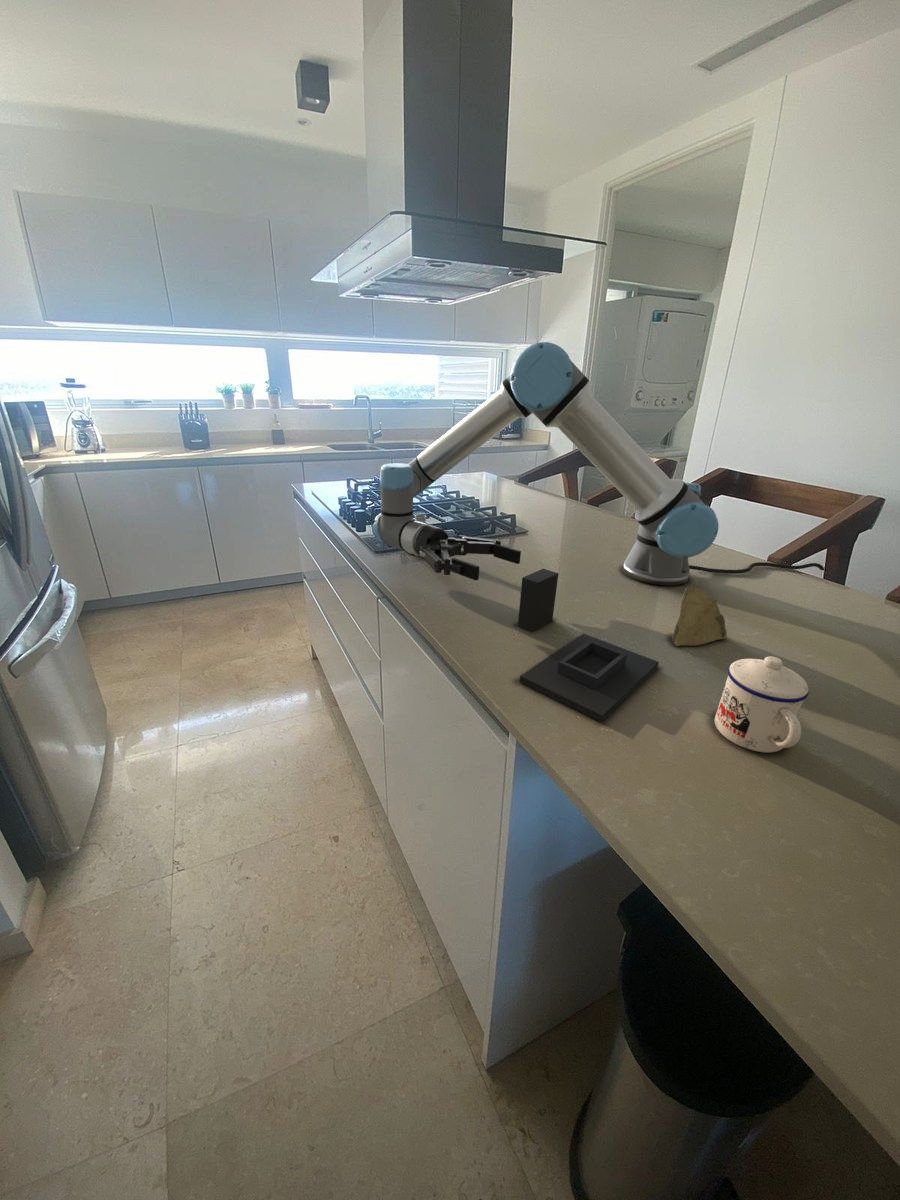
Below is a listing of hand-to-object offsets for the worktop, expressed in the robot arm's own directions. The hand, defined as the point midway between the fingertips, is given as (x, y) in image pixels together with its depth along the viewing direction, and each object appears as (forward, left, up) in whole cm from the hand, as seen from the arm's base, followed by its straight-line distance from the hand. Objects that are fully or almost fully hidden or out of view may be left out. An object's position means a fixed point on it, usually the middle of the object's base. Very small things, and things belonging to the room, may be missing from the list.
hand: (499, 565), depth 98 cm
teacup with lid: (-33, +38, -10) cm, 52 cm away
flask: (+20, -34, -10) cm, 40 cm away
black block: (-7, +6, -9) cm, 14 cm away
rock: (-37, +10, -10) cm, 40 cm away
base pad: (-14, +24, -9) cm, 30 cm away
